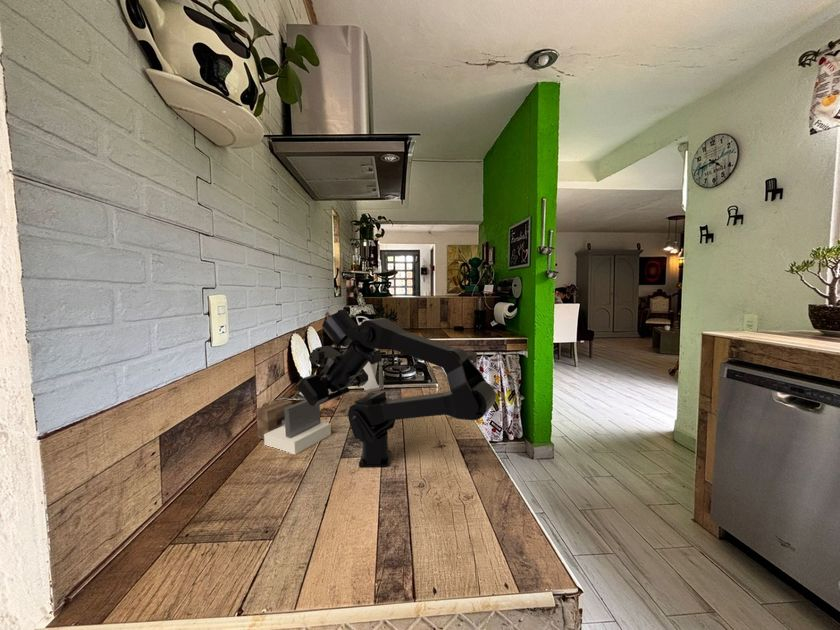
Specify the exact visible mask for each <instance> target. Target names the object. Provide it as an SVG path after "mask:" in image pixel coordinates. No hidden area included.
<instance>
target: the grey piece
mask: <svg viewBox="0 0 840 630" xmlns="http://www.w3.org/2000/svg"><path fill="white" fill-rule="evenodd" d="M284 413H285V419H284V420H282V426H283V427H285V431H286V437H289V438H291V437H293V436H295V435H297V434H299V433H301V432H303V431H305V430H307V429H309V428H311V427H313V426H315V425H317V424H319V423H321V422H322V421H321V405H316V406H311V405H310V404H309V403H308V401H307V400H306V399H305V400H301V401H299V402H296V403H294V404H292V405H291V406H288V407H286V408H284Z"/></svg>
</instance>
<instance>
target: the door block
mask: <svg viewBox="0 0 840 630" xmlns="http://www.w3.org/2000/svg"><path fill="white" fill-rule="evenodd" d="M320 422H321V423H319V424H317V425H315V426H313V427H311V428H309V429H307V430H305V431H303V432H301V433H299V434H297V435H295V436H293V437H291V438H289V437H286V431H285V427H283V426H281V427H279V428H277V429H275V430H272V431H270V432H268V433H266V434H264V440H263V442H264V446H265V445H267V446H270V447H274V448H277V449H280V450H279V451H281V450H283V451H282V452H284V451H286V452H285V453H288V452H289V453H288V454H292V455H294V456H295V455H297V454H299V453H300V452H301V453H302V452H303V451H304V450H306V449H308V448H309V447H312V446H313V445H315V444H316V443H319V442H320V441H322V440H325V438H328V437H330V436H331V435H332V431H331V430H332V428H331V427H332V425H331V423H328V422H324V421H320ZM267 446H266V447H267ZM270 447H269V448H270ZM274 448H273V449H274ZM277 449H276V450H277Z"/></svg>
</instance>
